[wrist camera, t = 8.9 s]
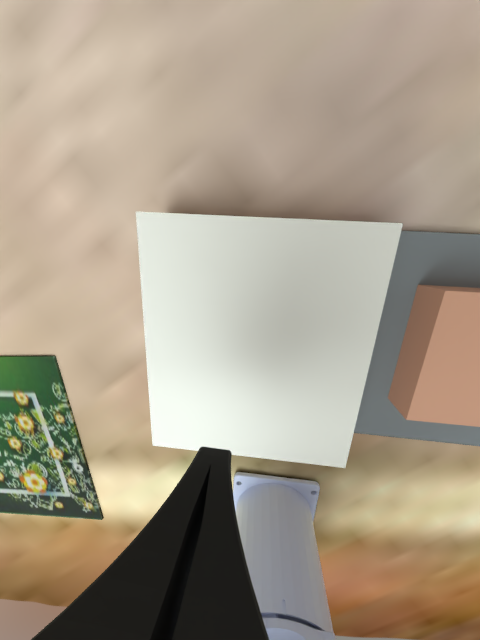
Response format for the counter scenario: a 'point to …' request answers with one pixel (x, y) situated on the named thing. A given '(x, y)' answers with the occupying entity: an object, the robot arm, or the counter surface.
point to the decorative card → (41, 444)
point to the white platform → (261, 330)
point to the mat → (407, 273)
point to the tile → (440, 358)
